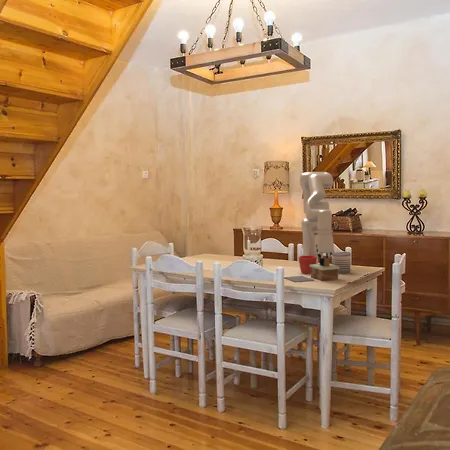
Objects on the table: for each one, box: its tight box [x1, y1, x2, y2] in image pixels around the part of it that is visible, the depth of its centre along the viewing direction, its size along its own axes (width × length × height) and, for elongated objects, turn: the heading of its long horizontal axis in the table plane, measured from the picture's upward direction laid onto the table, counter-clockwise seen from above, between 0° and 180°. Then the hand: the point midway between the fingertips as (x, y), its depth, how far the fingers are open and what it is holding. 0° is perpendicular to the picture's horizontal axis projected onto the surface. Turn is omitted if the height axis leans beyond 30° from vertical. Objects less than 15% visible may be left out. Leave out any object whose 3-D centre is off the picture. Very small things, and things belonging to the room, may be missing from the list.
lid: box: [310, 256, 339, 270], centre depth 289 cm, size 13×11×7 cm
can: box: [331, 251, 352, 275], centre depth 307 cm, size 11×11×12 cm
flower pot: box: [297, 255, 317, 275], centre depth 308 cm, size 11×11×10 cm
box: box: [310, 267, 339, 282], centre depth 289 cm, size 12×10×6 cm
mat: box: [284, 275, 316, 283], centre depth 288 cm, size 14×12×1 cm
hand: (324, 264), depth 289 cm, fingers closed on lid, 2 cm apart
